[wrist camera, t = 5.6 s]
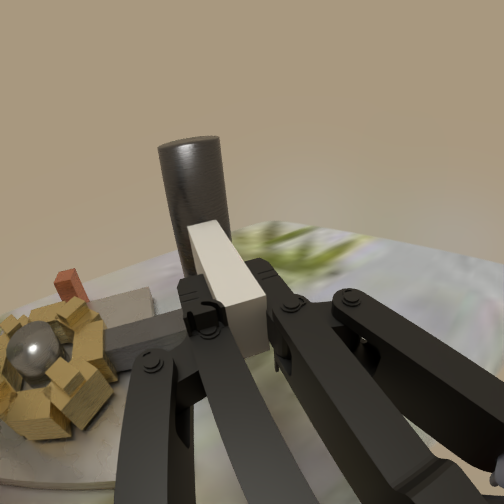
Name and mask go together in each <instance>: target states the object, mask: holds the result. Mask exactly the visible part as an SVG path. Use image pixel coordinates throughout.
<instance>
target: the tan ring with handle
mask: <svg viewBox="0 0 504 504" xmlns="http://www.w3.org/2000/svg"><path fill="white" fill-rule="evenodd" d="M158 153H159V159H160V165H161V170H162V176H163V181H164V186H165V192H166V197H167V201H168V207H169V211H170V217H171V221H172V225H173V230H174V235H175V239H176V244H177V248H178V252H179V257H180V261H181V265H182V269H183V273H184V277H185V278H187V277H191V276H195V275H197V272H196V267H195V262H194V258H193V253H192V248H191V244H190V239H189V234H188V229H187V226H191V225H195V224H200V223H204V222H208V221H212V220H217V222H218V223H219V225H220V226H221V228H222V229H223V231H224V232H225V234H226V235H227V237H228V238H229V240H230V241H231V243H232V238H231V231H230V223H229V215H228V207H227V200H226V190H225V182H224V174H223V166H222V157H221V148H220V139H219V137H218V136H200V137H192V138H186V139H181V140H176V141H172V142H169V143H166V144H163V145H161V146H159V147H158ZM34 321H45V322H47V323H48V324H49V325H50V326H51V328H52V330H53V331H54V333H55V335H56V336H57V338H58V339H59V341H60V342H61V344H63V343H67V342H71V343H72V344H73V351H72V360H71V361H70V362H69V363H68V362H67V361H65V360H64V359H63V358H61V357H59V359H58V360H57V361H56V362H55V363H54V364H53V365H52V366H51V367H50V368H49V369H48V370H47V371H46V372H45V374H46V375H47V376H48V377H49V379H50V380H51V382H50V383H49V384H48V385H47V386H46V387H43V388H37V389H31V390H25V391H20V389H21V383H22V376H21V375H20V374H19V373H18V372H17V370H16V369H15V368H14V367H13V365H12V364H11V363H10V362H9V360H8V359H7V356H6V348H7V345H8V343H9V341H10V339H11V337H12V336H13V335H14V334H15V332H16V331H18V330H19V329H20V328H21V327H23V326H24V325H26V324H28V323H30V322H34ZM0 327H1V328H2V330H3V331H4V333H3V334H2V335H1V336H0V419H1V420H3V421H4V422H5V423H6V424H7V425H8V426H9V427H10V428H12V429H13V430H14V431H15V432H16V433H18V434H19V435H20V436H22V435H23V436H25V437H26V438H27V439H28V440H43V439H55V438H65V437H71V422H72V423H73V424H74V425H76V426H77V427H78V428H79V429H80V430H83V429H84V428H85V426H86V425H87V424H88V423H89V421H90V420H91V419H92V418H93V417H94V415H95V414H96V413H97V412H98V410H99V409H100V408H101V407H102V406H103V404H104V403H105V402H106V401H107V400H108V398H109V397H110V396H111V395H112V393H113V392H114V391H113V389H112V388H111V386H110V385H109V384H108V383H110V382H115V381H118V376H117V372H120V371H124V370H128V369H132V366H133V363H134V361H135V358H136V357H137V356H138V355H139V354H140V353H142V352H144V351H146V350H147V349H152V348H161V349H164V350H166V351H170V350H172V349H173V348H175V347H177V346H178V345H180V344H181V343H182V342H183V340H184V339H185V337H186V335H187V329H186V326H185V323H184V320H183V310H182V308H181V309H178V310H174V311H171V312H167V313H164V314H160V315H157V316H153V317H150V318H146V319H142V320H139V321H135V322H132V323H128V324H124V325H120V326H117V327H113V328H109V329H108V328H107V326H106V325H105V323H104V321H103V320H102V318H101V316H100V314H99V313H97V312H95V311H93V310H91V309H89V307H88V305H87V303H86V301H84V300H82V299H80V298H78V297H75V296H74V297H73V298H72V299H71V300H69V301H68V302H67V303H66V301H62V302H58V303H55V304H51V305H48V306H44V307H41V308H37V309H34V310H31V313H30V316H29V319H28V318H27V317H26V316H25V315H23V316H21V317H20V318H19V319H18V320H17V319H16V318H15V317H14V316H13V315H12V314H11V315H10V316H9V317H7V318H6V319H5V320H4V321H3V322H2V323H1V324H0Z"/></svg>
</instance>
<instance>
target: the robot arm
mask: <svg viewBox="0 0 504 504" xmlns="http://www.w3.org/2000/svg"><path fill="white" fill-rule="evenodd" d="M187 229H188V234H189V239H190V244H191V248H192V253H193V258H194V262H195V267H196V272H197V275H195V276H191V277H187V278H183V279H180V281H179V283H178V286H177V290H178V294H179V298H180V302H181V306H182V310H183V320H184V323H185V326H186V329H187V335H186V337H185V339H184V340H183V342H182V343H181V344H180V345H178V346H177V347H175V348H173V349H172V350H170V351H166V350H164V349H161V348H152V349H147V350H146V351H144V352H142V353H140V354H139V355H138V356H137V357H136V358H135V361H134V363H133V366H132V371H131V376H130V381H129V386H128V392H127V397H126V403H125V409H124V415H123V422H122V429H121V436H120V444H119V452H118V460H117V470H116V481H115V494H114V504H196V496H195V472H194V404H195V403H197V402H198V401H200V400H202V399H203V398H205V397H206V396H207V398H208V401H209V404H210V407H211V410H212V413H213V415H214V418H215V421H216V424H217V427H218V429H219V432H220V435H221V438H222V440H223V443H224V446H225V448H226V451H227V453H228V456H229V459H230V461H231V464H232V466H233V469H234V471H235V473H236V476H237V478H238V481H239V483H240V485H241V488H242V490H243V492H244V495H245V497H246V499H247V501H248V504H319V502H318V500H317V499H316V497H315V495H314V494H313V492H312V490H311V488H310V487H309V485H308V483H307V481H306V479H305V478H304V476H303V474H302V472H301V471H300V469H299V467H298V465H297V463H296V461H295V460H294V458H293V456H292V454H291V452H290V450H289V448H288V447H287V445H286V443H285V441H284V439H283V437H282V435H281V433H280V431H279V429H278V427H277V426H276V424H275V422H274V420H273V418H272V416H271V414H270V412H269V410H268V408H267V406H266V404H265V402H264V400H263V398H262V396H261V394H260V392H259V390H258V388H257V386H256V383H255V381H254V379H253V377H252V375H251V373H250V371H249V369H248V367H247V365H246V363H245V360H244V358H247V357H250V356H253V355H256V354H259V353H262V352H265V351H268V350H270V347H269V342H270V343H271V345H272V347H273V348H274V361H275V370H276V372H278V371H279V367H280V369H281V371H282V373H283V374H284V376H285V378H286V380H287V381H288V383H289V385H290V387H291V388H292V390H293V392H294V393H295V395H296V397H297V399H298V400H299V402H300V404H301V406H302V407H303V409H304V411H305V412H306V414H307V416H308V417H309V419H310V421H311V422H312V424H313V426H314V428H315V429H316V431H317V433H318V434H319V436H320V438H321V439H322V441H323V442H324V444H325V446H326V447H327V449H328V451H329V452H330V454H331V456H332V457H333V459H334V460H335V462H336V464H337V465H338V467H339V469H340V470H341V472H342V473H343V475H344V477H345V478H346V480H347V481H348V483H349V484H350V486H351V488H352V489H353V491H354V492H355V494H356V495H357V497H358V499H359V500H360V502H361V503H362V504H504V496H493V495H481V494H480V492H479V491H478V490H477V488H476V487H475V486H474V484H473V483H472V482H471V480H470V479H469V478H468V477H467V476H466V474H465V473H464V472H463V471H462V469H461V468H460V467H459V466H458V465H457V464H456V463H455V462H453V461H451V460H449V459H441V458H438V457H436V456H435V455H434V454H433V453H432V452H431V451H430V450H429V448H428V447H427V446H426V444H425V443H424V442H423V441H422V439H421V438H420V437H419V436H418V434H417V433H416V432H415V431H414V429H413V428H412V427H411V426H410V424H409V423H408V422H407V420H406V419H405V418H404V417H403V416H405V417H406V418H407V419H408V420H410V421H411V422H412V423H414V424H415V425H416V426H418V427H419V428H420V429H422V430H423V431H424V432H426V433H427V434H428V435H430V436H431V437H432V438H434V439H435V440H436V441H438V442H439V443H440V444H442V445H443V446H444V447H446V448H447V449H448V450H450V451H451V452H453V453H454V454H455V455H457V456H458V457H460V458H461V459H462V460H464V461H465V462H467V463H468V464H470V465H472V466H473V467H476V468H478V469H480V470H483V471H486V472H491V473H492V474H491V476H490V484H491V485H492V486H494V487H496V486H498V485H499V486H500V487H502V488H504V382H503V381H501V380H499V379H498V378H497V377H495V376H494V375H492V374H491V373H489V372H488V371H486V370H485V369H483V368H482V367H480V366H479V365H477V364H476V363H474V362H473V361H471V360H470V359H468V358H467V357H465V356H463V355H462V354H460V353H459V352H457V351H456V350H454V349H453V348H451V347H450V346H448V345H447V344H445V343H443V342H442V341H440V340H439V339H437V338H436V337H434V336H433V335H431V334H429V333H428V332H426V331H425V330H423V329H422V328H420V327H418V326H417V325H415V324H414V323H412V322H410V321H409V320H407V319H406V318H404V317H403V316H401V315H399V314H398V313H396V312H395V311H393V310H391V309H390V308H388V307H387V306H385V305H383V304H382V303H380V302H378V301H377V300H375V299H374V298H372V297H370V296H369V295H367V294H365V293H364V292H362V291H360V290H357V289H352V288H347V289H342V290H339V291H337V292H336V293H335V294H334V296H333V299H332V301H329V302H319V303H312V302H310V301H309V300H308V299H307V298H305V297H304V296H301V295H298V294H294V293H293V292H292V291H291V289H290V288H289V287H288V286H287V284H286V283H285V282H284V281H283V279H282V278H281V277H280V276H279V275H278V273H277V272H276V271H275V270H274V268H273V267H272V266H271V264H270V263H269V262H267V261H265V260H263V259H261V258H256V259H253V260H249V261H245V262H244V261H243V260H242V258H241V257H240V255H239V254H238V252H237V251H236V249H235V247H234V246H233V244H232V243H231V241H230V240H229V238H228V237H227V235H226V234H225V232H224V231H223V229H222V228H221V226H220V225H219V223H218V222H217V220H212V221H208V222H204V223H200V224H195V225H191V226H187ZM361 337H362V338H364V339H365V340H364V339H362V338H361Z"/></svg>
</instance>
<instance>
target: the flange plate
mask: <svg viewBox="0 0 504 504" xmlns="http://www.w3.org/2000/svg"><path fill="white" fill-rule="evenodd" d="M54 285H55V287H56V289H57V292H58V294H59V296H60V298H61V300H62V301H66V303H67V302H68V301H69V300H71V299H72V298H73V297H74V296H75V297H78V298H80V299H82V300H84V301H86V303H87V305H88V307H89V309H91V310H93V311H95V312H97V313H99V314H100V316H101V318H102V320H103V321H104V323H105V325H106V326H107V328H108V329H109V328H113V327H117V326H120V325H124V324H128V323H132V322H135V321H139V320H142V319H146V318H150V317H153V316H155V311H154V304H153V298H152V295H151V292H150V289H149V287H145V288H141V289H137V290H134V291H130V292H126V293H122V294H118V295H114V296H110V297H106V298H103V299H99V300H95V301H91V302H90V301H89V299H88V297H87V295H86V292H85V290H84V288H83V286H82V283H81V281H80V279H79V277H78V274H77V272H76V270H75V268H74V269H70V270H66V271H61V272H59V273H58V275H57V277H56V279H55V281H54ZM28 319H29V317H28ZM3 333H4V331H3V330H2V332H1V334H0V336H1V335H2V334H3ZM72 351H73V344H72V343H71V342H67V343H63V344H61V342H60V341H59V339H58V338H57V336H56V335H55V333H54V331H53V330H52V328H51V326H50V325H49V324H48V323H47V322H45V321H34V322H30V323H28V324H26V325H24V326H23V327H21V328H20V329H19V330H18V331H16V332H15V334H14V335H13V336H12V337H11V339H10V341H9V343H8V345H7V348H6V356H7V359H8V360H9V362H10V363H11V364H12V365H13V367H14V368H15V369H16V370H17V372H18V373H19V374H20V375H21V376H22V383H21V389H20V391H25V390H31V389H37V388H43V387H46V386H47V385H48V384H49V383H50V382H51V380H50V379H49V377H48V376H47V375H46V374H45V372H46V371H47V370H48V369H49V368H50V367H51V366H52V365H53V364H54V363H55V362H56V361H57V360H58V359H59V357H61V358H63V359H64V360H65V361H67V362H68V363H69V362H70V361H71V360H72ZM131 371H132V369H128V370H124V371H120V372H117V376H118V381H115V382H110V383H108V384H109V385H110V386H111V388H112V389H113V391H114V392H113V393H112V395H111V396H110V397H109V398H108V400H107V401H106V402H105V403H104V404H103V406H102V407H101V408H100V409H99V410H98V412H97V413H96V414H95V415H94V417H93V418H92V419H91V420H90V421H89V423H88V424H87V425H86V426H85V428H84V429H83V430H80V429H79V428H78V427H77V426H76V425H74V424H73V423H72V422H71V437H65V438H55V439H43V440H28V439H27V438H26V437H25V436H23V435H22V436H20V435H19V434H18V433H16V432H15V431H14V430H13V429H12V428H10V427H9V426H8V425H7V424H6V423H5V422H4V421H3V420H1V419H0V484H6V485H13V486H20V487H29V488H40V489H56V490H96V489H113V488H115V481H116V470H117V460H118V452H119V444H120V436H121V429H122V422H123V415H124V409H125V403H126V397H127V392H128V386H129V381H130V376H131Z"/></svg>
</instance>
